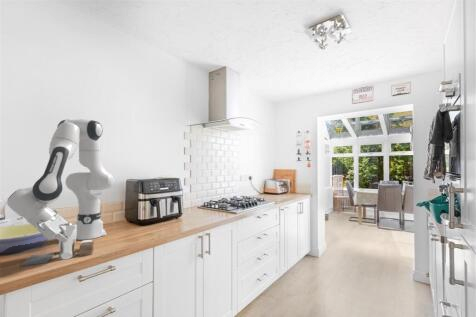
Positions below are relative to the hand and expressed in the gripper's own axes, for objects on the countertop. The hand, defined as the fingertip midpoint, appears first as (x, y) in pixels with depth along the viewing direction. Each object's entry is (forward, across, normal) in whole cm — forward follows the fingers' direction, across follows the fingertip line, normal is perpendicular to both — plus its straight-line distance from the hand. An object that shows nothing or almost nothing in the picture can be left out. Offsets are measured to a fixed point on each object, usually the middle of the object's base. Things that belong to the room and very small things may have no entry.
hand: (69, 238), depth 108 cm
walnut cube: (+11, +2, +1) cm, 11 cm away
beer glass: (+6, 0, +6) cm, 9 cm away
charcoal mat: (-2, +1, +14) cm, 14 cm away
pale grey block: (+10, +9, +2) cm, 14 cm away
